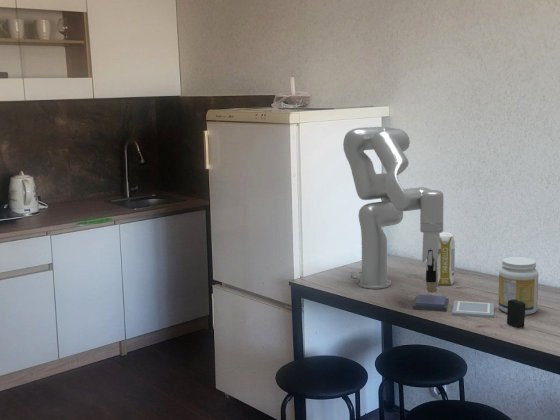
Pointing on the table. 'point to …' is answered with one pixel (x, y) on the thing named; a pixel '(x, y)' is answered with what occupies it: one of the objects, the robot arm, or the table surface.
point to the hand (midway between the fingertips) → (431, 279)
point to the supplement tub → (518, 283)
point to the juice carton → (446, 259)
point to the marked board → (473, 309)
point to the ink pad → (431, 302)
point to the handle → (432, 285)
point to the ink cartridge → (516, 313)
